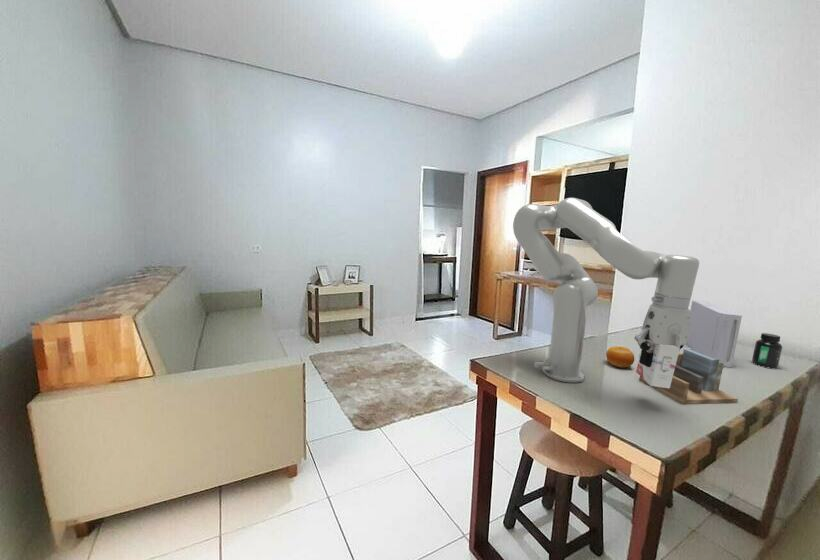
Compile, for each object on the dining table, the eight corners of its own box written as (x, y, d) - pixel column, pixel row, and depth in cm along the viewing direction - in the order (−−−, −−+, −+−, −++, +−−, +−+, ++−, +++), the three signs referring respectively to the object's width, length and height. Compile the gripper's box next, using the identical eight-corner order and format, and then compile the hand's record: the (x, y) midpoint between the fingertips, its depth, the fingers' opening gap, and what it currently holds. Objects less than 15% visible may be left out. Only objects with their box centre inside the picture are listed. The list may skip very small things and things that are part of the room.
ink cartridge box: (634, 371, 95) (645, 323, 92) (653, 374, 94) (665, 326, 91) (650, 386, 87) (662, 333, 84) (670, 389, 86) (684, 336, 83)
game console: (711, 365, 122) (721, 313, 119) (683, 343, 147) (691, 300, 144) (731, 368, 120) (742, 315, 117) (700, 345, 145) (708, 301, 142)
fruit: (611, 349, 125) (618, 336, 119) (634, 363, 119) (642, 351, 114) (598, 361, 122) (604, 349, 116) (622, 377, 116) (629, 365, 111)
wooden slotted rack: (682, 404, 92) (688, 366, 90) (639, 379, 107) (644, 347, 105) (737, 402, 94) (745, 366, 92) (688, 379, 109) (693, 347, 107)
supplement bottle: (763, 368, 121) (770, 337, 119) (746, 361, 128) (752, 331, 126) (783, 369, 121) (790, 338, 119) (765, 362, 127) (771, 332, 126)
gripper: (653, 304, 81) (638, 370, 85) (713, 307, 84) (696, 372, 87) (630, 296, 89) (617, 358, 92) (686, 299, 91) (671, 359, 94)
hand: (655, 364), depth 90 cm, fingers closed on ink cartridge box, 6 cm apart
